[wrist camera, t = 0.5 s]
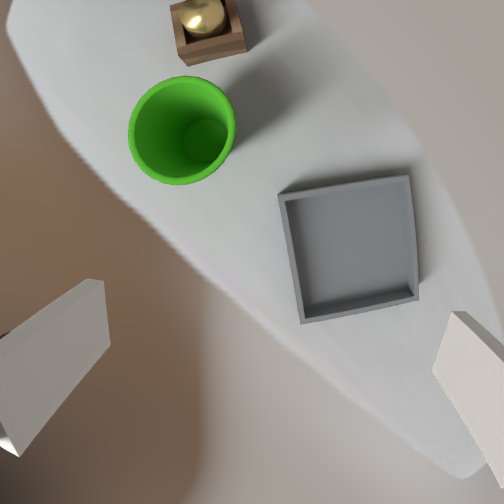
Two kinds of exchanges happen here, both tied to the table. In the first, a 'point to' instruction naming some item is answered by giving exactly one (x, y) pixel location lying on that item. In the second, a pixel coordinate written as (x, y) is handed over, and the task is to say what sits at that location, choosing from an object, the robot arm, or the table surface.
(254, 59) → the table surface
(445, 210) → the table surface
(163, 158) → the cup
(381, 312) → the table surface
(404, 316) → the table surface
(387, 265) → the tray
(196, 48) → the block
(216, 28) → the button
